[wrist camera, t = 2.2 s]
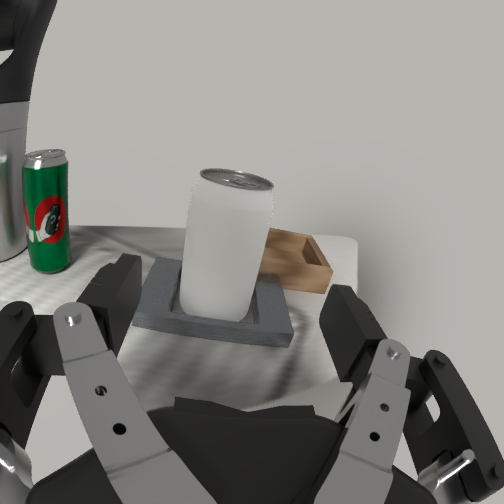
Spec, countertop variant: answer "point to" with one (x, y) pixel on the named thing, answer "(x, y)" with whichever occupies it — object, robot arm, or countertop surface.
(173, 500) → the robot arm
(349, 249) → the countertop surface
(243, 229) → the can
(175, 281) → the gray rectangular tray
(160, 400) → the countertop surface
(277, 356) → the countertop surface
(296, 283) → the open wooden box
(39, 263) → the soda can
